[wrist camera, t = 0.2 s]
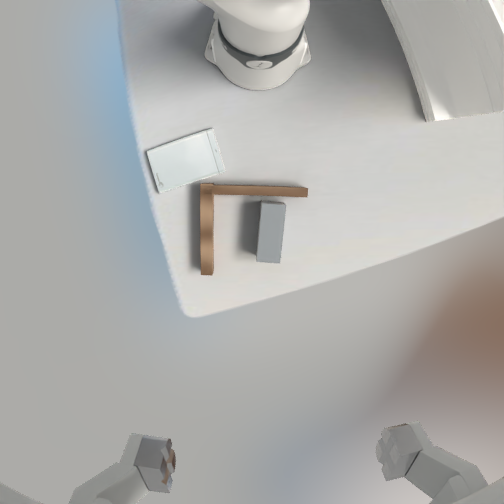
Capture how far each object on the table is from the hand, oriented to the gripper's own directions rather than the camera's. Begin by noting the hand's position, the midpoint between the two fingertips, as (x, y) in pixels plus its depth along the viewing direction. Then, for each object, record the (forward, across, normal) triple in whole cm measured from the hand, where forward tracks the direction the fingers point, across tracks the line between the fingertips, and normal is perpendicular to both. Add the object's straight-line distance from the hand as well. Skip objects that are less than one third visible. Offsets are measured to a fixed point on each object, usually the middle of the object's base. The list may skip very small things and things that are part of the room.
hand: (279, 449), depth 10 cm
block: (+47, -33, -39) cm, 70 cm away
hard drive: (+48, +12, -11) cm, 51 cm away
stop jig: (+47, 0, +1) cm, 47 cm away
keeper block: (+47, -3, +1) cm, 47 cm away
